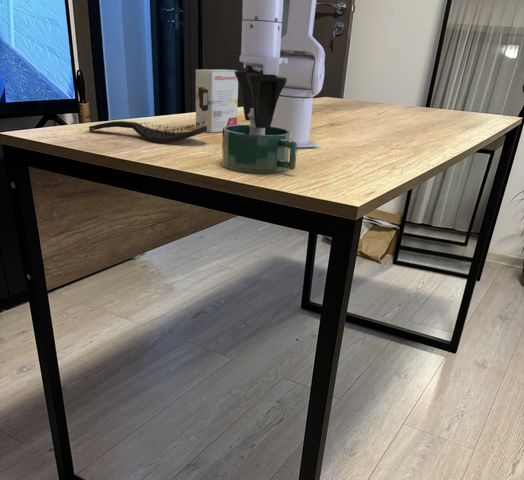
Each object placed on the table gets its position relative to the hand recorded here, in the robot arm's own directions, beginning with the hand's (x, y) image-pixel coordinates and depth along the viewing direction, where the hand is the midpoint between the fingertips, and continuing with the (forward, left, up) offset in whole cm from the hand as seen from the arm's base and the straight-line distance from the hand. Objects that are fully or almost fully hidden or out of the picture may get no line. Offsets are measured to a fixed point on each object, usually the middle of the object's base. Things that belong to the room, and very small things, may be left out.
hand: (257, 123), depth 83 cm
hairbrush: (-28, -10, -7) cm, 31 cm away
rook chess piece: (0, 0, -6) cm, 6 cm away
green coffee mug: (+1, +1, -6) cm, 7 cm away
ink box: (-36, +8, -7) cm, 37 cm away
